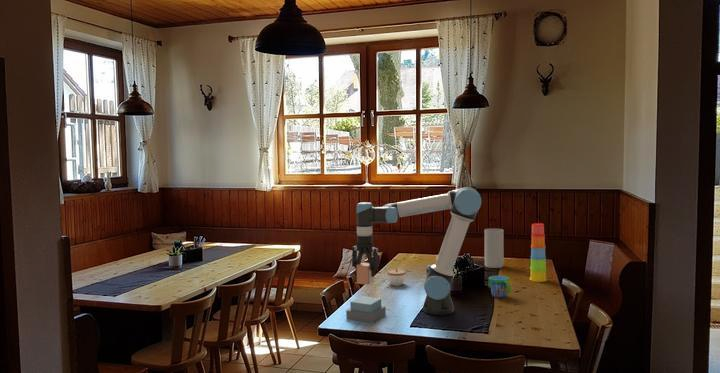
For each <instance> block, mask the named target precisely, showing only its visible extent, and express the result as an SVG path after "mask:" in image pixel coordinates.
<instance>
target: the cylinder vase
mask: <svg viewBox="0 0 720 373" xmlns="http://www.w3.org/2000/svg"><path fill="white" fill-rule="evenodd" d="M504 232H505V231H504V229H502V228H484V267H486V268H488V269H501V268H503V267H504V265H505V264H504V263H505V262H504V261H505V260H504V259H505V258H504V250H505V249H504V246H505V245H504V240H505V239H504V237H505V236H504Z"/></svg>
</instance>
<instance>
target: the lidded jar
mask: <svg viewBox="0 0 720 373" xmlns="http://www.w3.org/2000/svg"><path fill="white" fill-rule="evenodd" d="M406 274H407V273H406V271H405V270H403V269H398V268H396V269H391V270H387V278H388V282H389V283H390V284H391V285H392V286H394V287H396V286H397V287H398V286H402V285H403V284H404V283H405V281H406Z"/></svg>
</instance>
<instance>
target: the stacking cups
mask: <svg viewBox="0 0 720 373" xmlns="http://www.w3.org/2000/svg"><path fill="white" fill-rule="evenodd" d="M530 236H531V245H530V249H531V250H530V252H531V253H530V254H531V255H530V266H529V269H530V277H529V280H530V281H531V282H534V283H544V282H547V281H548V279H547V269H548V267H546V264H547V262H546V261H547V256H546V248H547V246H546V242H545V240H546V238H545V237H546V234H545V224H544V223H542V222H534V223H532V224H531V235H530Z"/></svg>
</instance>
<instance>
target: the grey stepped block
mask: <svg viewBox="0 0 720 373" xmlns="http://www.w3.org/2000/svg"><path fill="white" fill-rule="evenodd" d="M349 305H350V307H349V308H348V309H346V311H345V312H346V315H345V316H346V318H345V319H347V320H353V321H359V322H366V323H371V324H372V323H374V322H376V321H377V320H379V319H380V318H382V317H384V316H385V315H386V306H385V305H382V298H378V297H371V296H364V295H361V296H359V297H357V298H355V299H354V300H351V301H350V304H349Z"/></svg>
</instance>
